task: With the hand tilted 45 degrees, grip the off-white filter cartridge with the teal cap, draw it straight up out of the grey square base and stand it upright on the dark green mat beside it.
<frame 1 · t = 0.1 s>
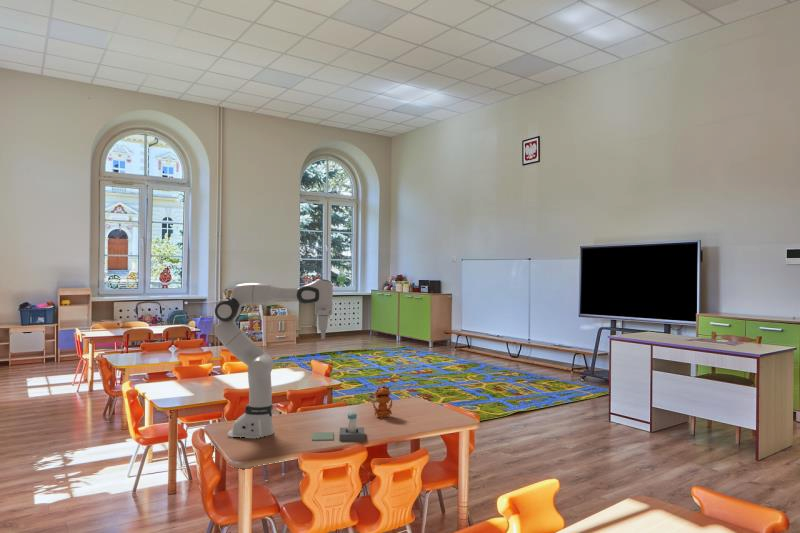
hand: (323, 337, 278), 48 cm above the table, tool pointing down, fingers open, 8 cm apart
service mat: (323, 438, 266), on the table
filter cartridge: (351, 437, 267), point 1 cm above the table, touching grey square base
grey square base: (351, 439, 267), on the table
brown plush toy: (382, 417, 310), on the table
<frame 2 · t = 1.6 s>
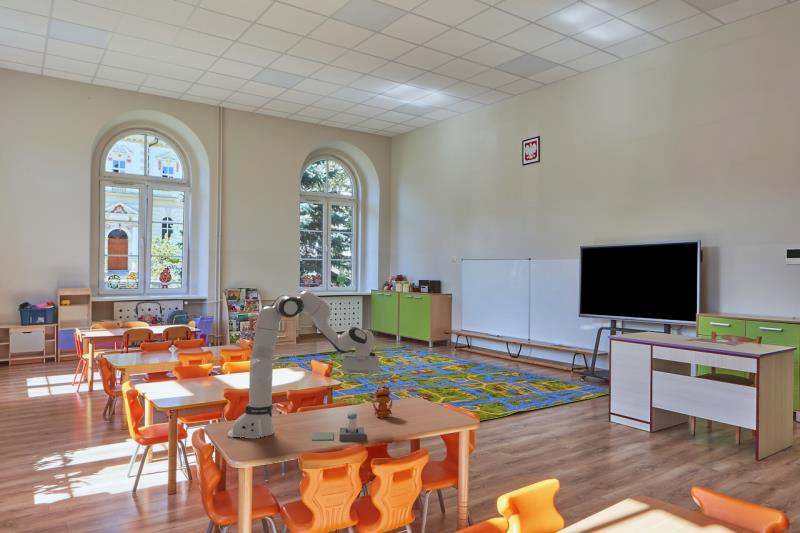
hand: (358, 379, 281), 27 cm above the table, tool tilted 45°, fingers open, 8 cm apart
nothing on the table moved.
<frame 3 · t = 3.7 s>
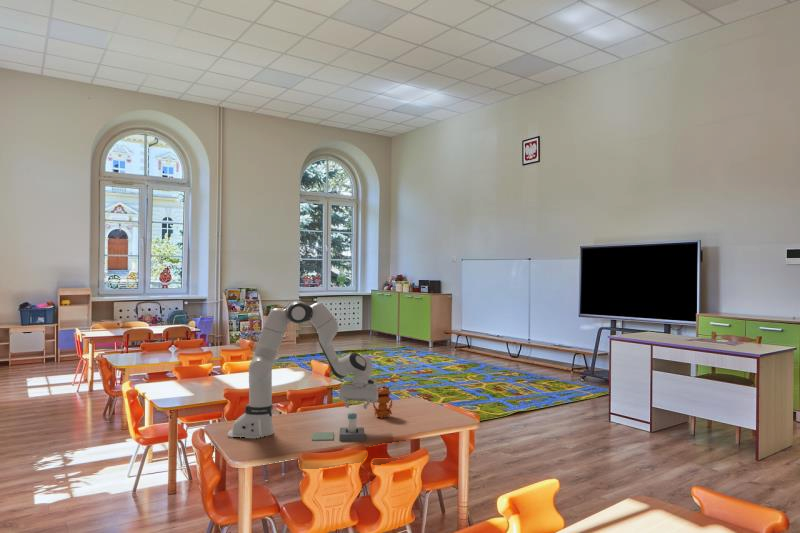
hand: (355, 407, 274), 14 cm above the table, tool tilted 45°, fingers open, 8 cm apart
nothing on the table moved.
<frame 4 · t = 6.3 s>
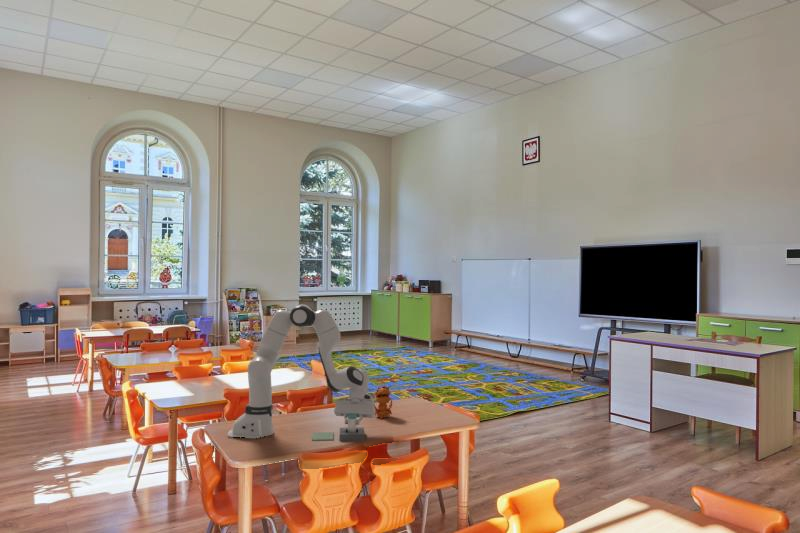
hand: (351, 423, 266), 8 cm above the table, tool tilted 45°, fingers closed on filter cartridge, 4 cm apart
filter cartridge: (351, 437, 267), point 1 cm above the table, touching grey square base, gripper
everything else where it was.
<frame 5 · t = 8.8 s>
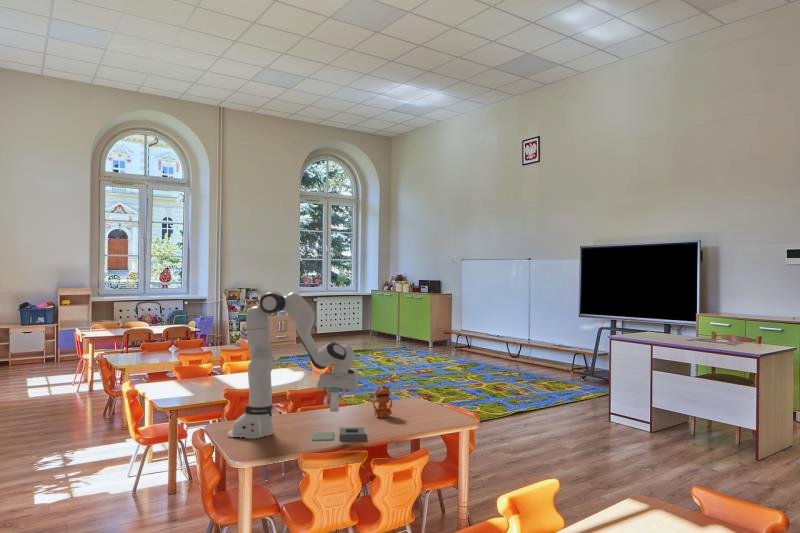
hand: (334, 397, 266), 20 cm above the table, tool tilted 45°, fingers closed on filter cartridge, 4 cm apart
filter cartridge: (334, 410, 267), point 14 cm above the table, touching gripper
everything else where it was.
when the fingers open (10 cm above the table, at t = 11.8 s): filter cartridge drops 2 cm, resting on service mat.
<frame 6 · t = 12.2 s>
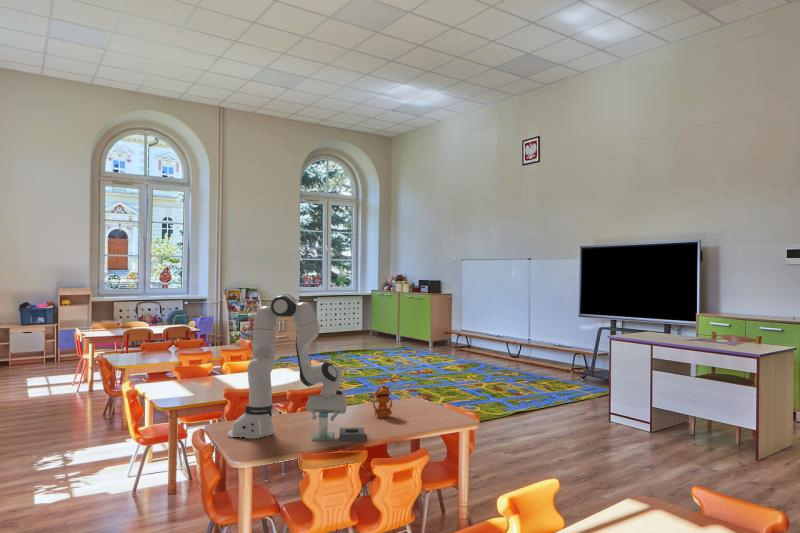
hand: (322, 419, 266), 10 cm above the table, tool tilted 45°, fingers open, 8 cm apart
filter cartridge: (323, 435, 266), point 1 cm above the table, touching service mat
everything else where it was.
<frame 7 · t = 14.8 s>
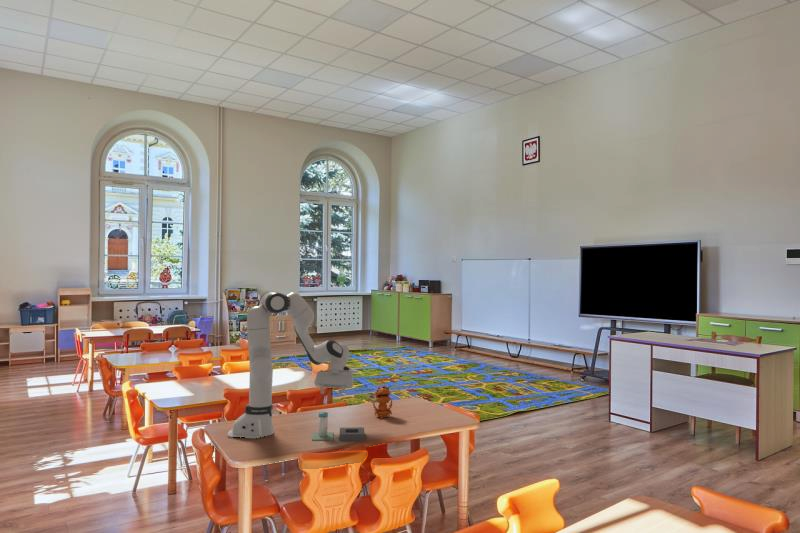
hand: (331, 393, 279), 20 cm above the table, tool tilted 45°, fingers open, 8 cm apart
nothing on the table moved.
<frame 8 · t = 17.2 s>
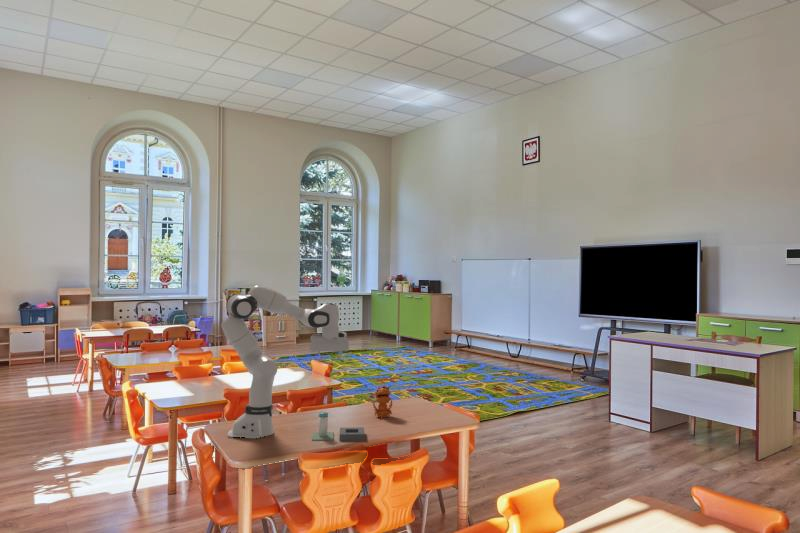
hand: (329, 359, 290), 35 cm above the table, tool pointing down, fingers open, 8 cm apart
nothing on the table moved.
at the end: filter cartridge inside the target area on the service mat (0.1 cm from its centre), point 1.5 cm above the service mat's base; filter cartridge tilted 1°; the gripper is holding nothing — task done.
